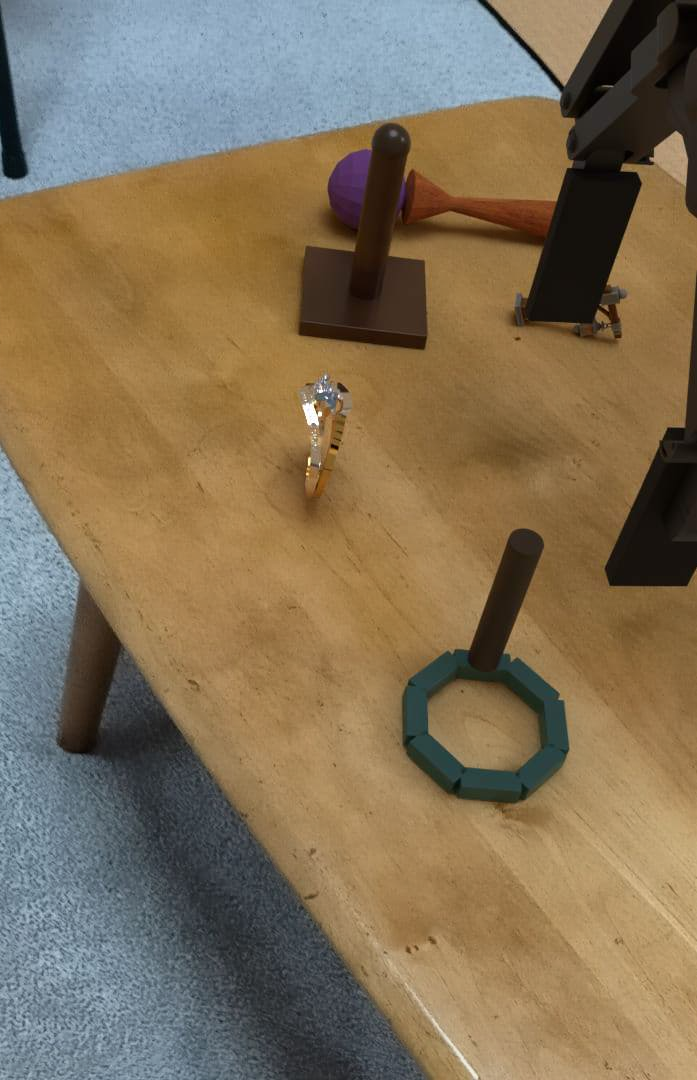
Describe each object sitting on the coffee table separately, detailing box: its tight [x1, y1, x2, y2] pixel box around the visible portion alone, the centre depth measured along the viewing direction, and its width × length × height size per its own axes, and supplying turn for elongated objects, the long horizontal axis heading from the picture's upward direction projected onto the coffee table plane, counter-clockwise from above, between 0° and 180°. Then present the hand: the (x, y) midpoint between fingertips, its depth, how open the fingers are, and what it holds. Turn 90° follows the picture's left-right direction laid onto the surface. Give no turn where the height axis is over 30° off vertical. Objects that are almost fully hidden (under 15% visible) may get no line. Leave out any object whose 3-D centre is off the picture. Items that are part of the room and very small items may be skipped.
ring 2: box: [401, 528, 570, 804], centre depth 63 cm, size 9×9×11 cm
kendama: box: [327, 148, 557, 239], centre depth 96 cm, size 6×6×20 cm
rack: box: [298, 122, 428, 350], centre depth 85 cm, size 9×9×14 cm
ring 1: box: [298, 371, 354, 500], centre depth 75 cm, size 7×3×8 cm, turn 176°
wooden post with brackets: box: [513, 284, 629, 340], centre depth 91 cm, size 2×8×4 cm, turn 79°
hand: (597, 435), depth 46 cm, fingers open, 13 cm apart
